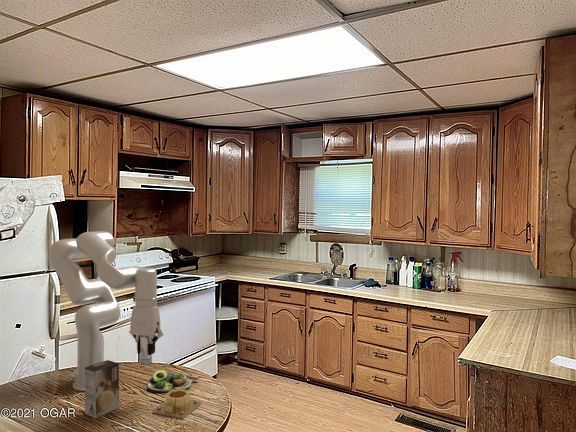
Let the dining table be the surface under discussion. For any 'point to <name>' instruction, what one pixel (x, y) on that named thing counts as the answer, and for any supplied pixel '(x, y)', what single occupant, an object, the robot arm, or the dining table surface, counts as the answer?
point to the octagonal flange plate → (177, 404)
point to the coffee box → (101, 388)
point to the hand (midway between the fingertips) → (146, 352)
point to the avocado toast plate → (169, 381)
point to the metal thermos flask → (144, 351)
